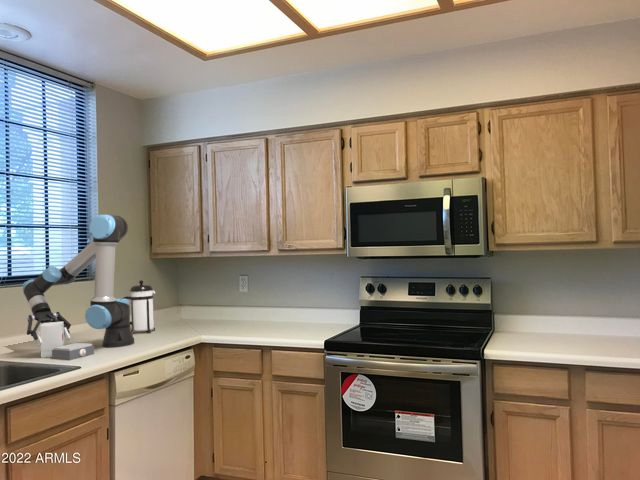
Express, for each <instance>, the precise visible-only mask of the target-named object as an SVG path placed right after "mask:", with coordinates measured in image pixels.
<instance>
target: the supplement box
mask: <svg viewBox="0 0 640 480" xmlns="http://www.w3.org/2000/svg"><path fill="white" fill-rule="evenodd" d="M39 331H40V333H39V335H40V338H41V340H42V345H41V346H40V358H41V359H42V358H44V359H45V358H46V357H47V358H52V350H54V348H56V347H60V346H65V336H64V322H63V321H62V322H49V323H43V324H42V323H40V325H39Z"/></svg>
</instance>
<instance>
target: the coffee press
mask: <svg viewBox="0 0 640 480" xmlns="http://www.w3.org/2000/svg"><path fill="white" fill-rule="evenodd" d="M138 283H139V284H136V285H132V286H131V287H130V289H129V293H130V296H128V295H127V296H125V297H122V298H121V299H128V300H130V326H131V332H132V335H135V334H136V332H137V333H138V332H146V333H147V334H148V335H150V334H152V331H153V332H154V331H155V330H156V328H155V326H154V325H155V321H154V294H156V291H155V290H154V288H153V287H152V285H150V284H143V283H144V281H143V280H142V279H141V280H139V282H138Z"/></svg>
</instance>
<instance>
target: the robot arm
mask: <svg viewBox="0 0 640 480" xmlns="http://www.w3.org/2000/svg"><path fill="white" fill-rule="evenodd" d="M128 231H129V224H128V222H127V220H126V219H125V218H124V217H122V216H119V215H115V214H114V215H113V214H112V215H111V214H97V215H95V216H94V217H93V218H92V219H91V220H90V221H89V224H88V232H89V234H90V236H91V237H92V241H91V242H90V243H88V245H86V246H85V247H84V248H83V249H82V250H81V251H80V252H79V253H77V255H75V256H74V257H73V258H72V259H71V260H69V261H68V262H67V263H66V264H65V265H64V266H62V267H61V268H60V269H59V268H58V267H55V266H52V265H51V266H48V267H47V268H46V269H44V270H43V271H42V272H41V273H40V274H39V275H38V276H37V277H36V278H35V279H34V278H33V279H28V280H27V281H24V282H23V284H22V285H21V287H22V286H23V289H22V291H23V295H24V296H25V298H26V300H27V304H28V306H29V307H30V310H31V313H32V314H29V315H28V317H27V318H26V319H27V329H26V335H28V336H29V335H30V336H31V337H32V338H33V340H34V341H36V343H37V344H38V347H41V345H42V340H41V338H40V333H39V331H38V329H39V327H40V325H41V324H43V323H49V322H62V321H63V322H64V339H65V340H66V342H67V343H68V342H70V340H71V336H70V333H71V332H70V328H71V325H72V323H70V322H69V321H68V320H67V319H66V318H64V317H63V316H62V315H61V313H60V311H56V313H53V312H52V310H51V307H50V305H49V303H48V300H47V299H46V296H45V293H46V292H47V291H48V290H49V289H50V288H51V287H57V286H62V285H70V284H72V283H73V282H75V280H76V279H77V278H76V277H77V276H78V275H79V274H80V273H81V272H83V270H85V269H86V268H88V266H89V265H90V264H92V263H93V262H94V261H95V270H94V288H93V289H94V290H93V297H92V298H91V299H90V300H89V301H90V305H89V307H88V308H87V309H86V311H85V313H84V314H85V315H84V317H85V321H86V323H87V324H88V325H89V326H90V327H91V328H92V329H95V330H104V329H105V330H104V334H103V339H102V341H101V346H102V347H104V348H116V347H117V348H119V347H127V346H129V345H133V344H135V337H134V334H132V333H133V331H132V332H131V330H132V328H131V325H130V322H131V304H130V301H129V300H130V299H122V298H116V297H115V296H114V294H115V291H114V290H115V267H116V247H117V246H118V245H119V244H120V241H122V240H123V239H124V238H125V237H126V236H127V234H128ZM34 320H35V321H36V323H35V326H34V328H32V326H33V321H34Z"/></svg>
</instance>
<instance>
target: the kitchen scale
mask: <svg viewBox="0 0 640 480" xmlns="http://www.w3.org/2000/svg"><path fill="white" fill-rule="evenodd" d="M94 348H95V346H94V345H93V343H87V342H86V343H83V342H74V343H70V344H64V346H60V347H56V348H54V350H52V357H51V359H52V360H60V361H61V360H62V361H64V360H65V361H72V360H75V359H80V358H85V357H88V356H92V355H94V354H95V349H94Z"/></svg>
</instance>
